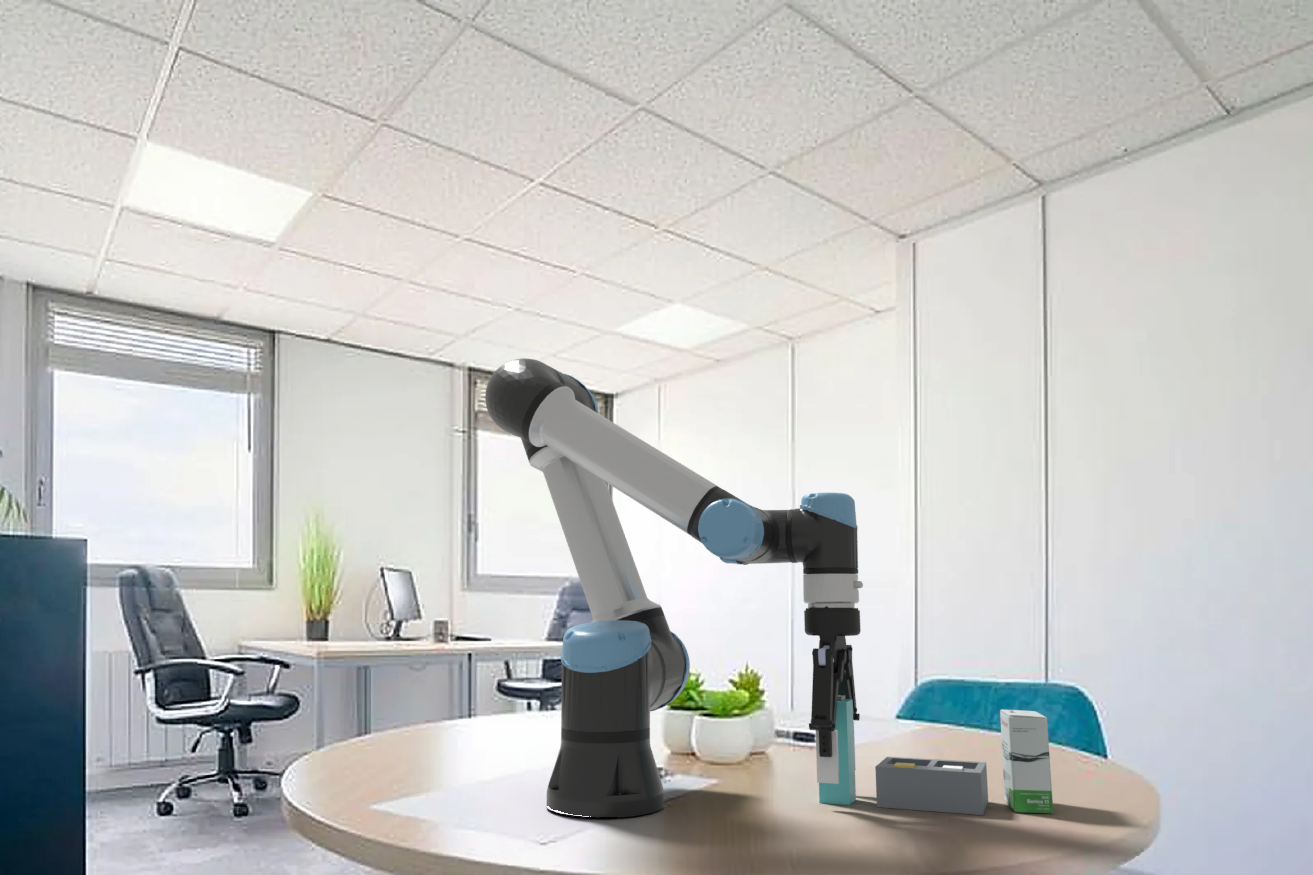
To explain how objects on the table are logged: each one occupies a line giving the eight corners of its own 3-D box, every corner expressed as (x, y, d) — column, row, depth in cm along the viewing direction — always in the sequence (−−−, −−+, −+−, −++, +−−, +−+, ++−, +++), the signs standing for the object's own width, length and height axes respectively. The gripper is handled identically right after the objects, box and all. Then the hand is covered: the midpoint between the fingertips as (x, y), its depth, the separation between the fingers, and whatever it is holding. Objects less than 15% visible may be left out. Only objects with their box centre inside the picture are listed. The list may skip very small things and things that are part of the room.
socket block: (876, 807, 126) (875, 764, 127) (888, 794, 135) (887, 754, 136) (982, 815, 122) (980, 770, 122) (988, 801, 130) (986, 759, 131)
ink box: (1055, 815, 122) (1048, 715, 124) (1013, 813, 123) (1007, 715, 125) (1042, 801, 130) (1036, 708, 132) (1003, 799, 131) (998, 708, 133)
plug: (819, 802, 129) (816, 696, 132) (826, 797, 133) (823, 693, 135) (849, 805, 128) (846, 697, 130) (855, 799, 131) (852, 694, 134)
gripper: (841, 606, 123) (847, 793, 119) (874, 605, 143) (880, 765, 140) (783, 606, 126) (787, 788, 122) (823, 605, 146) (828, 762, 142)
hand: (837, 776), depth 131 cm, fingers open, 10 cm apart
